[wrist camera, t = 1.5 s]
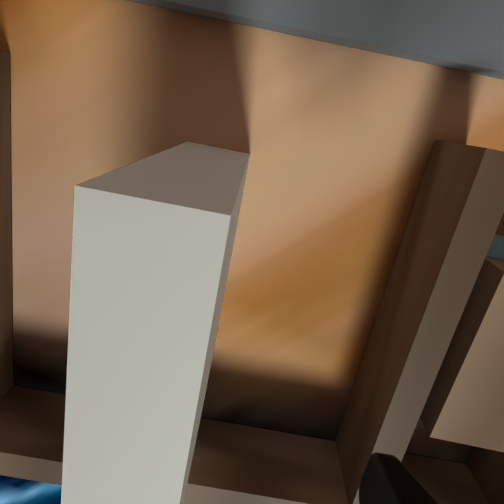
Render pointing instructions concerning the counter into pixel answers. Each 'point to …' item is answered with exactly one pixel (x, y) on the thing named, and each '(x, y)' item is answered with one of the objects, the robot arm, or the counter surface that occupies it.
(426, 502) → the robot arm
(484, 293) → the offcut upper
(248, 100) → the counter surface
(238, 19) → the mat
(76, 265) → the board
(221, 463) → the rack
